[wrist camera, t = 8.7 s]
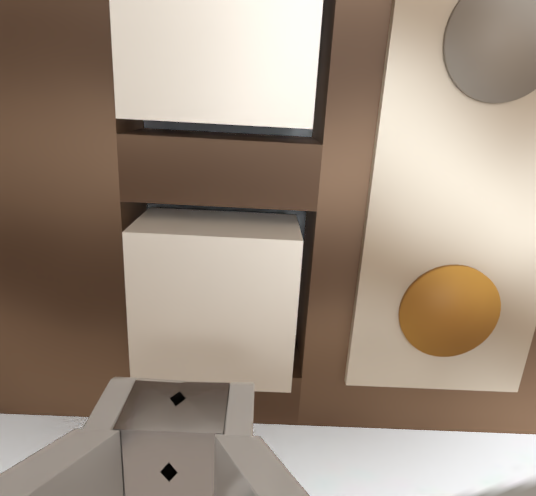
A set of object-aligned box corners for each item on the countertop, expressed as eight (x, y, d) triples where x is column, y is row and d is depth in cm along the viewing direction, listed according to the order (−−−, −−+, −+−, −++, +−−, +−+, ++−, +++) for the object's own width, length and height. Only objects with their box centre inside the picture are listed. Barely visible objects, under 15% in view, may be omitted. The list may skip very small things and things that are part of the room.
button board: (-95, -585, 10) (-267, -915, 7) (731, -511, 11) (941, -788, 7) (34, 365, 18) (-17, 422, 15) (498, 384, 19) (548, 444, 16)
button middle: (140, -70, 12) (102, -122, 9) (316, -58, 12) (332, -107, 10) (146, 115, 14) (115, 118, 11) (302, 124, 14) (312, 129, 11)
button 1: (149, 207, 15) (122, 231, 12) (296, 214, 15) (303, 241, 12) (154, 336, 16) (130, 386, 14) (286, 342, 16) (290, 392, 14)
